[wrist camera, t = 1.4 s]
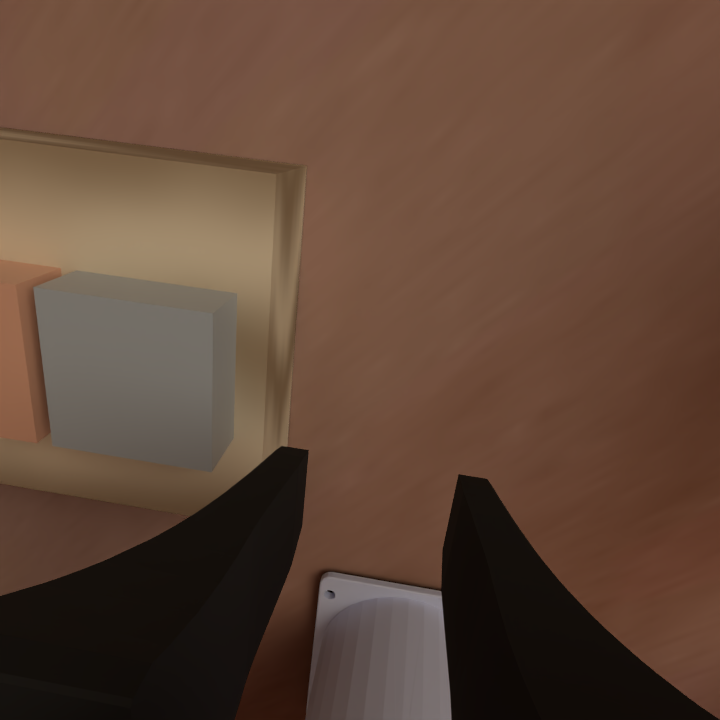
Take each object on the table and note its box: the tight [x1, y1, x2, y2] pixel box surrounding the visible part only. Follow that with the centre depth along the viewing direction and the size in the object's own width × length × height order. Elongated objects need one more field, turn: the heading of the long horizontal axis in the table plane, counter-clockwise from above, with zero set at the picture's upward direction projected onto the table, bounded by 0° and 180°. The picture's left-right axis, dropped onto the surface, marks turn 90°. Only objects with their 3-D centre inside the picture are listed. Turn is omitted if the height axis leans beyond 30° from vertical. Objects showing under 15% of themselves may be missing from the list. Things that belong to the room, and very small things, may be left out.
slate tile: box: [33, 270, 237, 472], centre depth 17 cm, size 5×5×2 cm
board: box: [0, 127, 307, 516], centre depth 20 cm, size 12×14×4 cm
